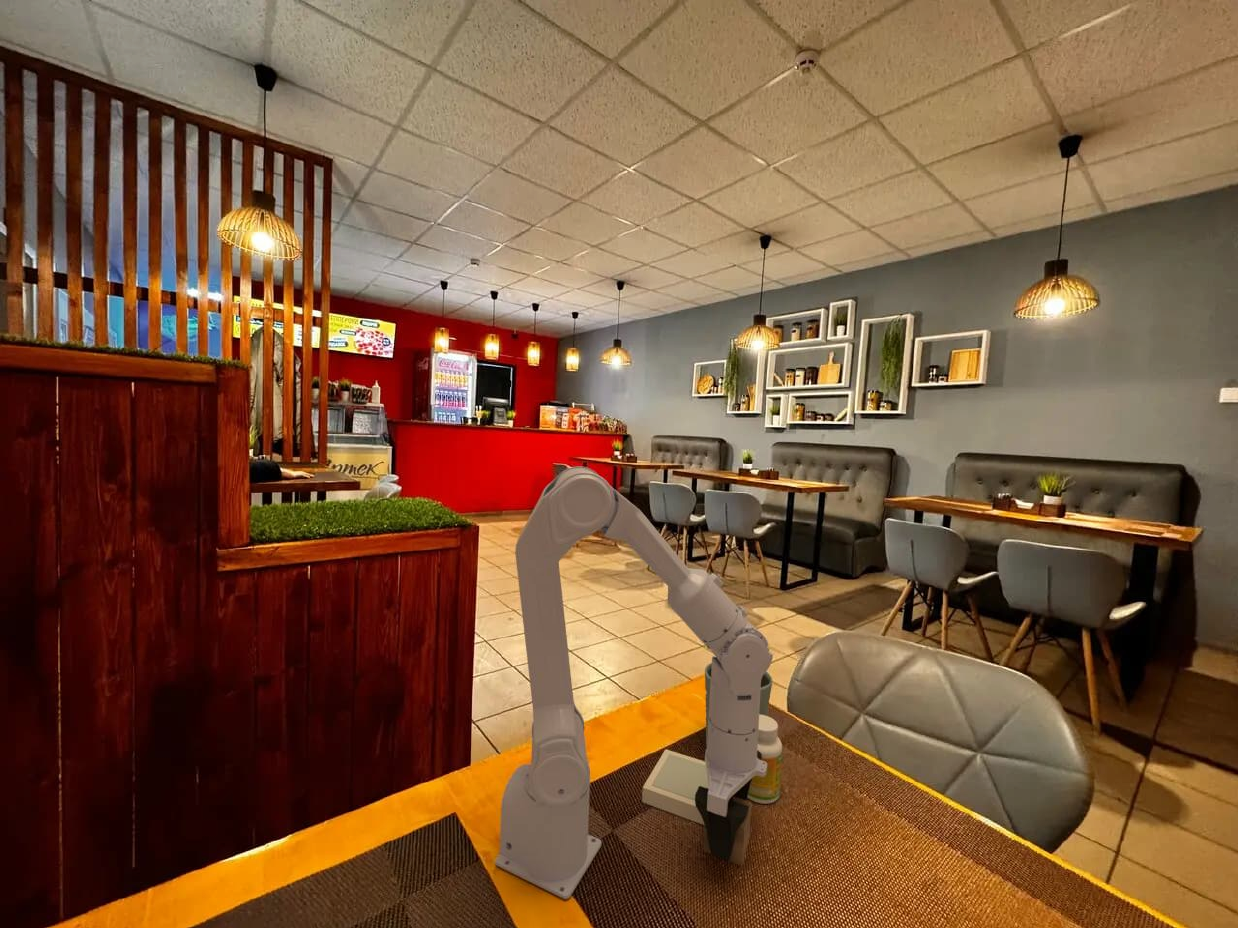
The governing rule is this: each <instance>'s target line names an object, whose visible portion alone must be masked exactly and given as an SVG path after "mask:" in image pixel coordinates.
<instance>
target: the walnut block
mask: <svg viewBox="0 0 1238 928" xmlns="http://www.w3.org/2000/svg"><path fill="white" fill-rule="evenodd" d="M732 797H733V801H735V802H738V803H741V804H744V805H747V806H749V808H748V812H747V816H746V818H745V820H744V822H743V823H742V824H741V826H740V827H739V829H738V831H737V833H736V838H735V842H734V847H733V851H732V854H731V857H730V860H729V861H728V862H731V863H733V864H736V865H738V866H741V867H743V866H744V862H745V857H746V855H747V854H746V853H747V849H748V847H749V841H750V838H751V837H750V836H751V835H750V834H751V819H752V818H751V817H752V802H753V801H752V802H751V801H749V800H747V801H746V800H743V799H740V798H737V797H734V796H732ZM703 833H704V834H703V835H704V836H703V852H706V853H707V854H710V855H711V852H710V848H709V844H708V838H707V833H706V828H705V827H704V832H703Z"/></svg>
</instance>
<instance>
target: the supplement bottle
mask: <svg viewBox="0 0 1238 928" xmlns="http://www.w3.org/2000/svg"><path fill="white" fill-rule="evenodd" d="M778 732H779V725H778V722H777V721H776V720H775V719H774V718H772V717H770V716H768V715H767V716H765V715H760V714H759V727H758V747H757V750H758V751H759V752H760V753H761V754H762V761H765V762H766V763H767V772H766V776H765V777H760V776H754V777H753V778H752V781H751V784H750V788H749V792H748V796H747V799H749V800H750V801H752V802H755V803H757V804H758V803H759V804H772V803H775V802H776V801H778V799H779V798H780V793H781V781H782V779H781V776H782V761H783V744H782V741H781V739H780V738H779V736H778Z"/></svg>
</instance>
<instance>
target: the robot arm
mask: <svg viewBox="0 0 1238 928" xmlns="http://www.w3.org/2000/svg"><path fill="white" fill-rule="evenodd" d="M599 530H600V531H601V533H602V535H603V538H608V539H613V540H620V541H624V542H626V543H627V544H628V545H629V547H630V548H632V550H633V551H634V552H635V553H636V554H637V555H638V556H639V557H640V559H642V561H644V563H645V564H647V566H648V567H650V569H651V570H652V571H653V572H654V573H655V574H656V575H657V576H658V577H659V578H660V579H661V580H662V581H663V582H664V584H665V585H666V586H667V604H668V606H669V607H670V608H671V609H672V610H673V611H674V613H675V614H676V615H677V616H678V617H679V618H680V619H681V620H682V621H683V623H685V624H686V625H687V627H688V628H689V629H690V630H691V632H693V634H694V635H695V636H696V637H697V638H698V639H699V640H700V641H701V642H702V644H704V645H705V646H706V648H707V649H708V650H710V651H711V653H713V655H714V656H712V658H711V663H712V669H711V681H710V703H709V723H708V743H707V746H706V749H705V752H704V753H705V754H704V761H705V762H706V769H707V776H708V783H709V789H708V788H705V787H702V786H699V787H698V790H697V792H696V794H695V805H696V807H697V809H698V811H699V812H700V814H701V816H702V819H703V821H704V824H705V825H704V829H705V828H706V833H707V838H708V844H709V848H710V852H711V854H710V855H711V856H712V857H715V858H717V859H721V860H723V861H726V862H728V863H729V862H730V861H729V860H730V857H731V854H732V851H733V847H734V842H735V838H736V833H737V831H738V829H739V827H740V826H741V824H742V823H743V822H744V820H745V818H746V816H747V812H748V808H749V806H747V805H744V804H741V803H738V802H735V801H733V797H732V796H734V797H737V798H740V799H743V800H746V801H748V798H747V796H748V792H749V788H750V784H751V781H752V778H753V777H754V776H760V777H765V776H766V772H767V763H766V762H765V761H762V754H761V753H760V752H759V751H758V750H757V747H758V727H759V709H760V691H761V679H762V676H763V675H764V674H765V672H768V670H769V668H770V667H771V664H772V662H773V659H774V658H773V657H774V655H773V653H771V651H770V648H769V647H768V646H769V643H768V640H767V638H766V637H765V636H764V634H762V633H761V631H759V630H758V628H757V627H756V626H754V625H753V624H752V623H751V622H750V621H748V620H747V619H746V618H747V616H748V612H747V610H746V609H744V607H743V606H742V605H736V604H735V603H734V602H733V600H732V599H731V598H730V597H729V596H728V595H727V593H726V592H725V591H724V590H723V589H722V588H721V587H722V586H723V585H724V582H723V581H722V580H721V579H720V577H718V575H716V574H715V573H714V572H712V573H711V574H709V573H708V572H707V571H706V570H705V569H702V568H691V567H690V568H689V567H688V566H687V565H686V564H685V563H684V562H683V560H682V559H681V558H680V557H679V555H678V554H677V553H676V552H675V550H674V549H673V548H672V547H671V546H670V544H669V543H668V542H667V540H665V538H664V537H663V536H662V535H661V533H659V531H658V530H657V529H656V528H655V526H654V525H653V524H652V522H650V520H649V519H648V518H647V516H646V515H645V514H644V513H643V512H642V510H640V508H638V507H637V506H636V505H635V504H633V503H632V502H631V501H630V500H628V499H627V498H626V497H624V495H622V494H621V493H620V492H619V491H617V490H616V489H614V488H613V486H611V485H610V484H609V482H608V481H607V480H606V479H605V478H604V477H602V476H600V475H599V473H597V472H596V471H595V470H593V469H591V468H589V467H586V466H581V465H580V466H578V465H577V466H572V467H569V468H566V469H565V470H563V471H561V472H560V473H559V474H558V475H556V477H554V479H552V481H550V483H548V484H547V485H546V486H545V488H544V489H543V491H542V493H541V495H540V496H539V499H538V501H537V503H536V504H535V506H534V508H533V510H532V512H531V514H530V516H529V517H528V519H527V521H526V523H525V525H524V526H523V528H522V531H521V532H520V533H519V536H518V537H517V542H516V545H515V551H514V552H515V554H514V555H515V563H516V571H517V577H518V578H517V581H518V589H519V598H520V606H521V607H520V608H521V615H522V624H523V632H524V643H525V651H526V659H527V668H528V675H529V676H528V677H529V685H530V693H531V694H530V695H531V705H532V716H533V718H532V720H533V722H532V726H531V738H532V739H531V757H530V764H528V763H524V764H521V765H519V766H518V767H517V768H516V769H515V771H514V772H513V773H512V775H511V776H510V778H509V779H508V781H507V784H506V786H505V788H504V792H503V795H502V799H501V805H500V830H499V831H500V835H499V838H500V839H499V854H498V855H497V856H496V858H495V859H494V861H495V862H494V863H495V866H497V867H499V868H501V869H503V870H505V871H507V872H510V873H511V874H513V875H515V876H517V877H519V878H522V879H523V880H526V881H527V882H530V883H532V884H534V885H536V886H537V887H539V888H542V889H544V890H546V891H548V892H549V893H551V894H554V895H556V896H558V897H559V898H562V899H564V900H567V899H569V898H570V897H571V896H572V895H573V893H574V891H575V889H576V888H577V886H578V885H579V883H580V882H581V880H582V878H583V877H584V875H585V874H586V872H587V870H588V868H589V867H590V865H591V864H592V862H593V860H594V858H595V857H596V856H597V854H598V852H599V851H600V849H601V847H602V840H601V839H600V838H597V837H595V836H593V835H590V834H589V815H590V813H589V812H590V791H591V790H590V788H591V769H590V763H589V761H588V754H587V746H586V738H585V730H586V729H585V728H586V727H585V720H584V717H583V715H582V713H581V712H580V711H579V709H578V707H576V704H575V701H574V692H573V685H572V683H573V682H572V674H571V665H570V656H569V655H570V654H569V648H568V647H569V646H568V638H567V637H568V636H567V630H566V629H567V627H566V618H565V611H564V610H565V609H564V601H563V590H562V582H561V571H560V561H561V559H563V557H564V556H565V555H566V554H567V553H568V552H570V550H571V549H572V548H573V547H574V546H575V544H577V542H578V541H581V540H583V539H584V538H587V537H589V536H590V535H592V534H594V533H596V532H597V531H599Z"/></svg>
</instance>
